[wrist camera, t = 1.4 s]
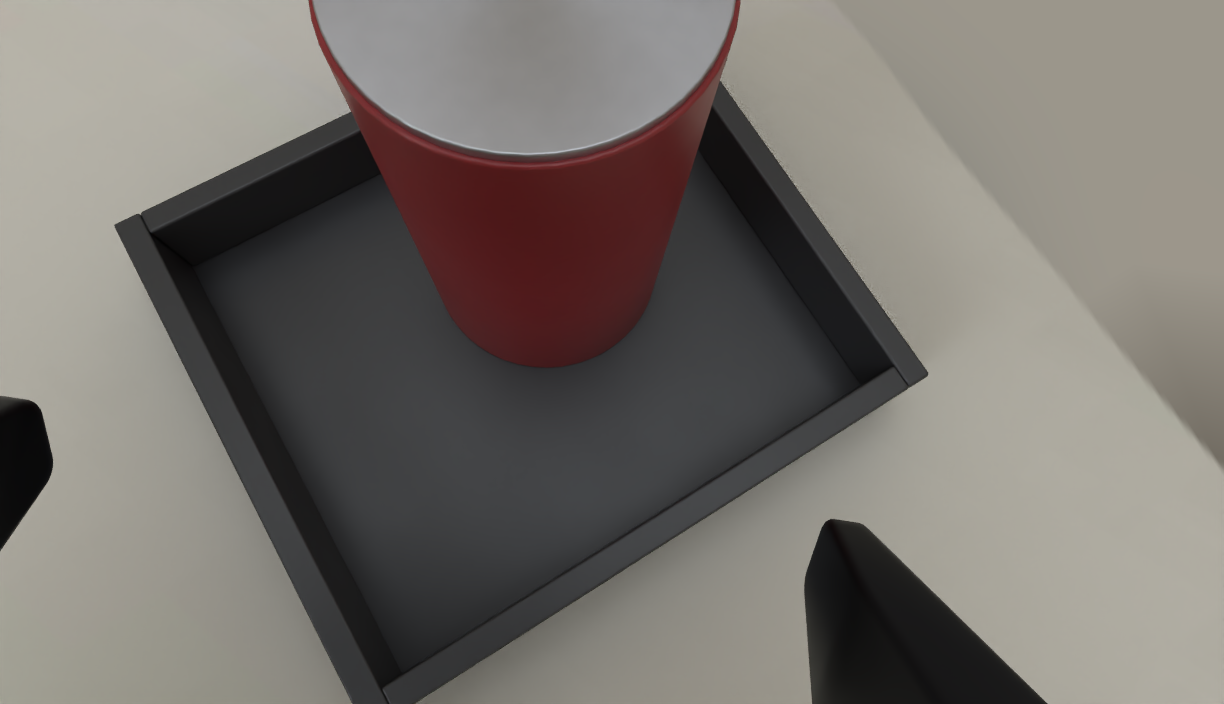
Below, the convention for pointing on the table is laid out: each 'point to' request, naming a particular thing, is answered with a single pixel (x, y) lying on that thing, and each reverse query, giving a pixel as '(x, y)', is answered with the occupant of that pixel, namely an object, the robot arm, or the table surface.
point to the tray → (495, 394)
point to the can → (533, 150)
